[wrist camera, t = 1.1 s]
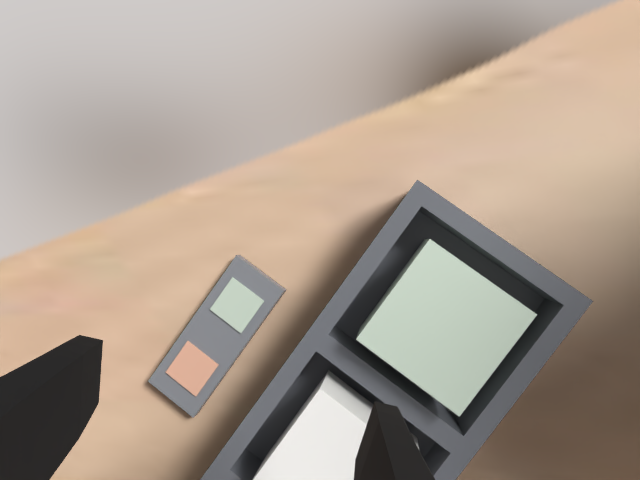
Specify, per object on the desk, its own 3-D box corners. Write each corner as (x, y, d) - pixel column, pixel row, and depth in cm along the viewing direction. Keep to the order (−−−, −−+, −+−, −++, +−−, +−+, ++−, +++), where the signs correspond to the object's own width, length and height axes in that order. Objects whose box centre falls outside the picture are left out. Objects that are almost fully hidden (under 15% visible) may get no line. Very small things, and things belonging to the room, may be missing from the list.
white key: (417, 437, 23) (421, 466, 20) (352, 522, 23) (347, 563, 20) (328, 370, 24) (320, 388, 21) (267, 454, 24) (249, 483, 21)
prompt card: (286, 289, 26) (283, 291, 25) (197, 413, 26) (192, 418, 26) (239, 254, 26) (235, 255, 25) (153, 378, 27) (147, 381, 26)
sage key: (517, 305, 22) (537, 314, 20) (450, 394, 23) (459, 416, 20) (424, 239, 23) (429, 238, 20) (360, 327, 23) (355, 339, 20)
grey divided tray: (563, 293, 24) (593, 301, 20) (276, 668, 26) (259, 734, 22) (413, 188, 25) (417, 179, 21) (146, 557, 27) (110, 603, 23)
